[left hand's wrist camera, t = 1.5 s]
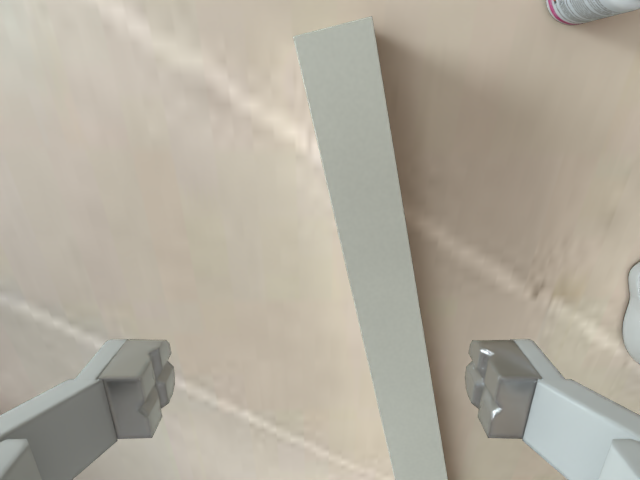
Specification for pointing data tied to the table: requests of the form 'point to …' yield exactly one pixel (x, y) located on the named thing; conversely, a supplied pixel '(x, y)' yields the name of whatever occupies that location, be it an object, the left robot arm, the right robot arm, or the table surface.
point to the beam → (373, 236)
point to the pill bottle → (588, 9)
